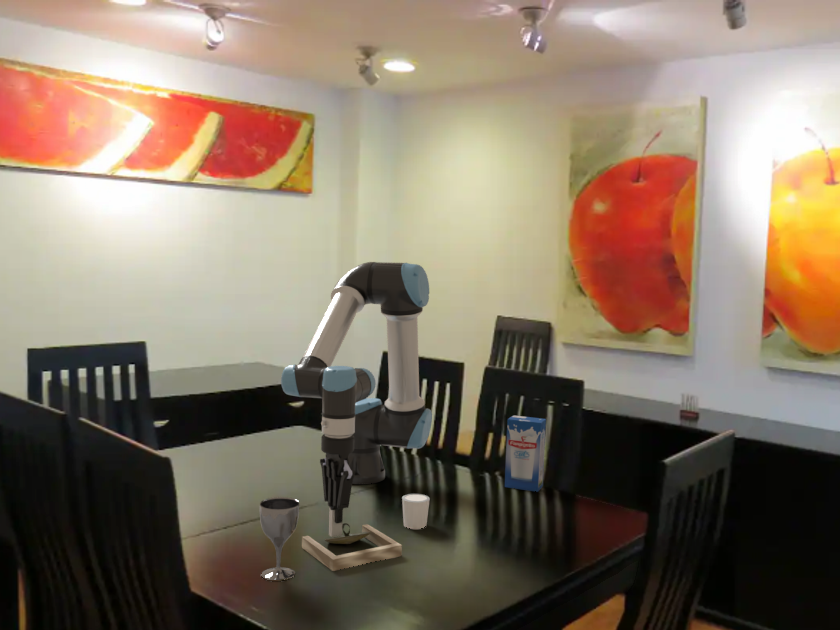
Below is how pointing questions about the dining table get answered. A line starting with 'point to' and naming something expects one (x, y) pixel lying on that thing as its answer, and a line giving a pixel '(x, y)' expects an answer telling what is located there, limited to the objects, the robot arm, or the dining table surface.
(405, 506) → the white cup
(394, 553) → the wooden u-shaped frame
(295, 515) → the wine glass
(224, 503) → the dining table surface
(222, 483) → the dining table surface
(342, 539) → the lid
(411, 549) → the dining table surface
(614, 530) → the dining table surface
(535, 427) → the milk carton
